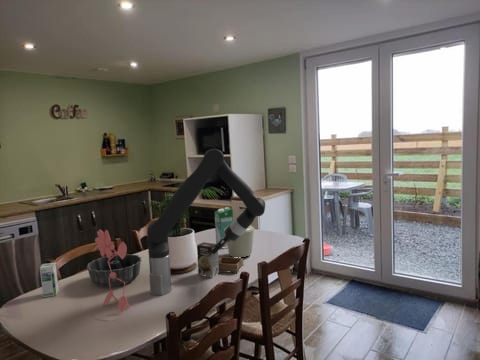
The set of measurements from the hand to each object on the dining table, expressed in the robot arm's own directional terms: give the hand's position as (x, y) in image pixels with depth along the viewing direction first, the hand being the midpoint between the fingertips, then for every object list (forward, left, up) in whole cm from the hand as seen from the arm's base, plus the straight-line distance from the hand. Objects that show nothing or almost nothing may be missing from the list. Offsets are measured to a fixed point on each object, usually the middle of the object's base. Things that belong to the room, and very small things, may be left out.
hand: (215, 250), depth 184 cm
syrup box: (-40, +68, -13) cm, 80 cm away
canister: (+32, -2, -13) cm, 35 cm away
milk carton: (+48, +14, -13) cm, 52 cm away
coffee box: (0, +5, -14) cm, 14 cm away
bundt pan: (-18, +48, -14) cm, 53 cm away
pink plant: (-47, +29, -13) cm, 57 cm away
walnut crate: (+10, -3, -13) cm, 17 cm away
